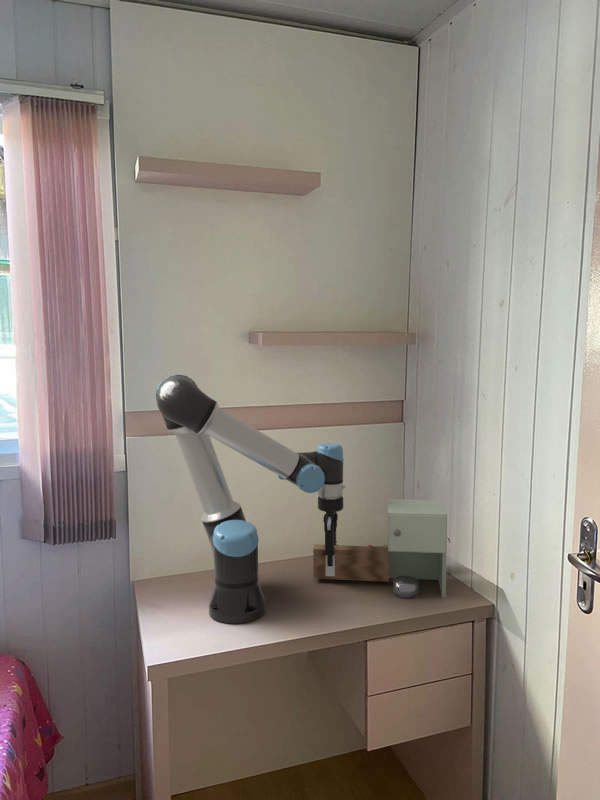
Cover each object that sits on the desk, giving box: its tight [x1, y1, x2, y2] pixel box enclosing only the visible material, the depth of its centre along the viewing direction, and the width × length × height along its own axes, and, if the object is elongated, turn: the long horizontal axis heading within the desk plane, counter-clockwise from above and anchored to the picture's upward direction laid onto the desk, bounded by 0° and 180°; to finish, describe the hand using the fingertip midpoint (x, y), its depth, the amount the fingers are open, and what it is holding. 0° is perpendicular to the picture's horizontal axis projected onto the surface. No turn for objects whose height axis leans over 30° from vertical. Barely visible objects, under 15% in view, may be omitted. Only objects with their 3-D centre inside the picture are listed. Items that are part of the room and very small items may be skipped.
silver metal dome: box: [392, 576, 419, 600], centre depth 183 cm, size 7×7×4 cm
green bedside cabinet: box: [387, 498, 448, 599], centre depth 186 cm, size 16×16×24 cm
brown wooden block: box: [312, 544, 390, 582], centre depth 191 cm, size 22×4×9 cm, turn 82°
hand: (331, 572), depth 193 cm, fingers closed on brown wooden block, 4 cm apart
